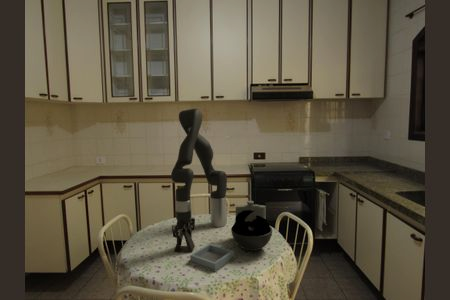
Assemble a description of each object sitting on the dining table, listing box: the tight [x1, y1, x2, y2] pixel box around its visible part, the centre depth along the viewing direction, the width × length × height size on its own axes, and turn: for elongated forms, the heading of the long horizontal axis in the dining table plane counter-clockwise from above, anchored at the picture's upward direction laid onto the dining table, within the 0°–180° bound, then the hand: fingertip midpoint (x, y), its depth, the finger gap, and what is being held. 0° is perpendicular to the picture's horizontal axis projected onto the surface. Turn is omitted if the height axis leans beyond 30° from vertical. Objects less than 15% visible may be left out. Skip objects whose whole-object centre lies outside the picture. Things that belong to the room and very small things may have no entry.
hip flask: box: [235, 200, 267, 222], centre depth 148 cm, size 16×4×20 cm, turn 86°
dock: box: [188, 243, 236, 273], centre depth 125 cm, size 15×15×3 cm
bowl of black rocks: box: [230, 210, 273, 251], centre depth 135 cm, size 20×20×19 cm
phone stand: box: [173, 227, 196, 253], centre depth 136 cm, size 9×6×12 cm, turn 84°
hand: (184, 242), depth 136 cm, fingers closed on phone stand, 6 cm apart
